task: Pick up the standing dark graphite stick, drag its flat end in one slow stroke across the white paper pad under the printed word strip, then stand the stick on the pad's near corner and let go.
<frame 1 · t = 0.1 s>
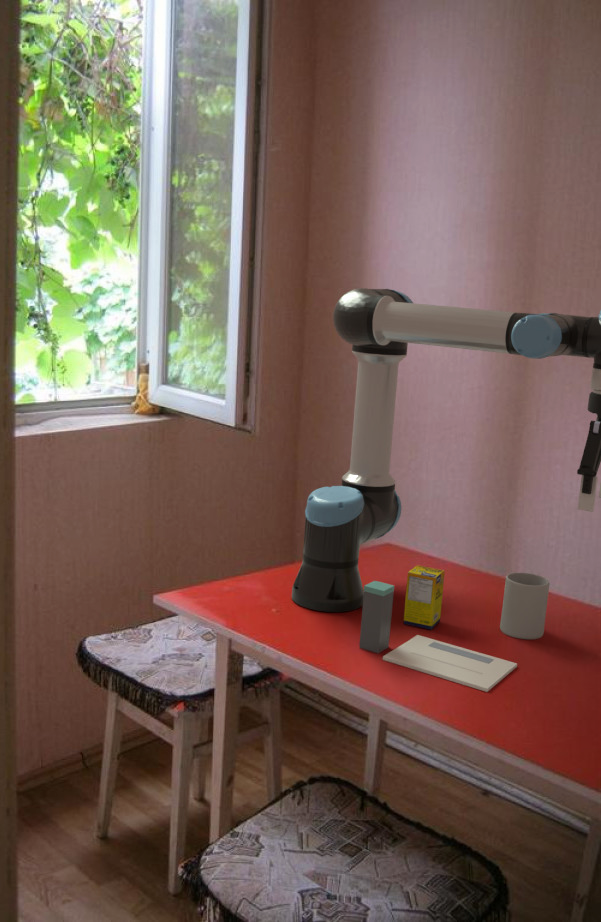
hand: (596, 504, 180), 28 cm above the table, fingers open, 13 cm apart
graphite stick: (373, 647, 177), on the table
mug: (517, 629, 192), on the table
paper pad: (449, 663, 172), on the table
supplement box: (421, 623, 191), on the table
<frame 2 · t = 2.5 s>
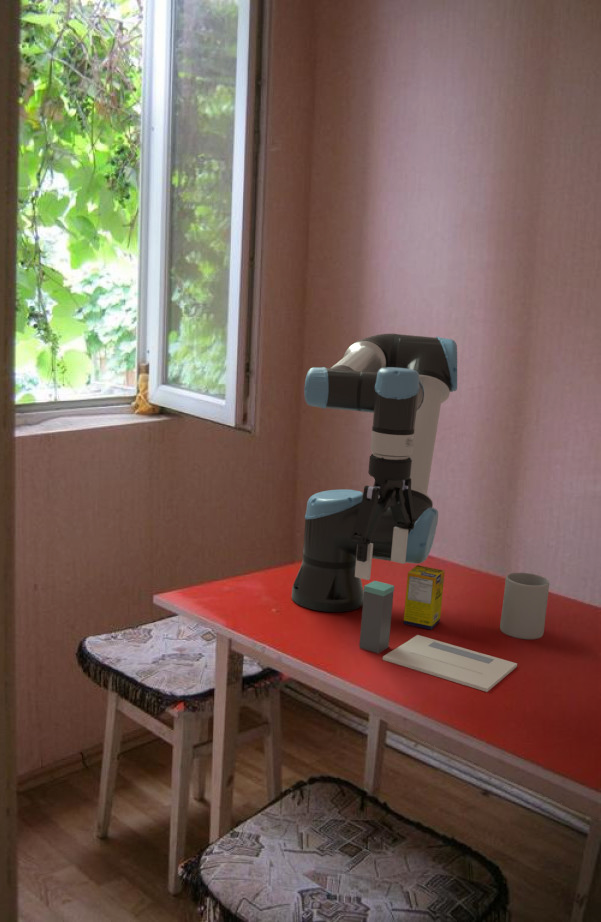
hand: (380, 570, 173), 15 cm above the table, fingers open, 13 cm apart
nothing on the table moved.
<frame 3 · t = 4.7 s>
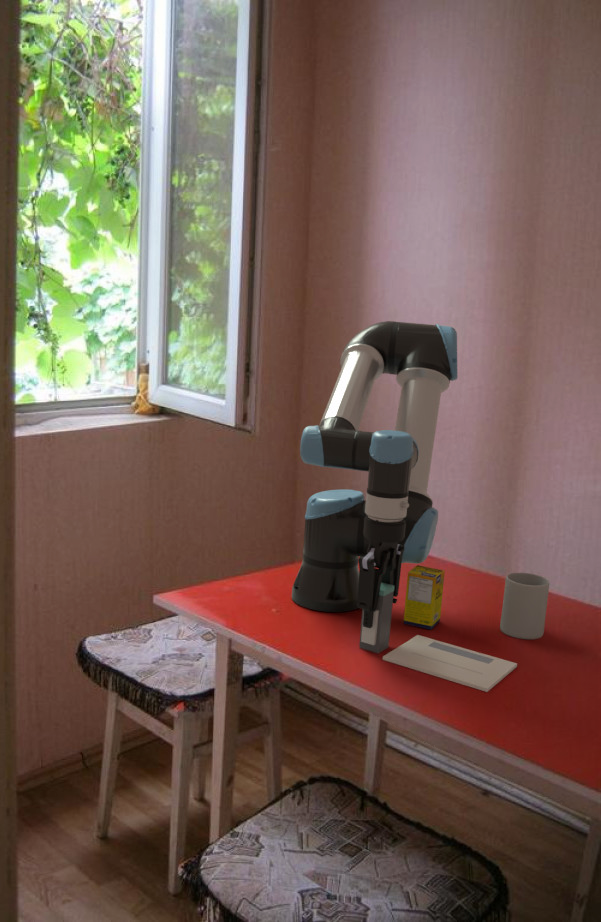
hand: (374, 638, 176), 2 cm above the table, fingers closed on graphite stick, 4 cm apart
graphite stick: (373, 647, 177), on the table, touching gripper
everything else where it was.
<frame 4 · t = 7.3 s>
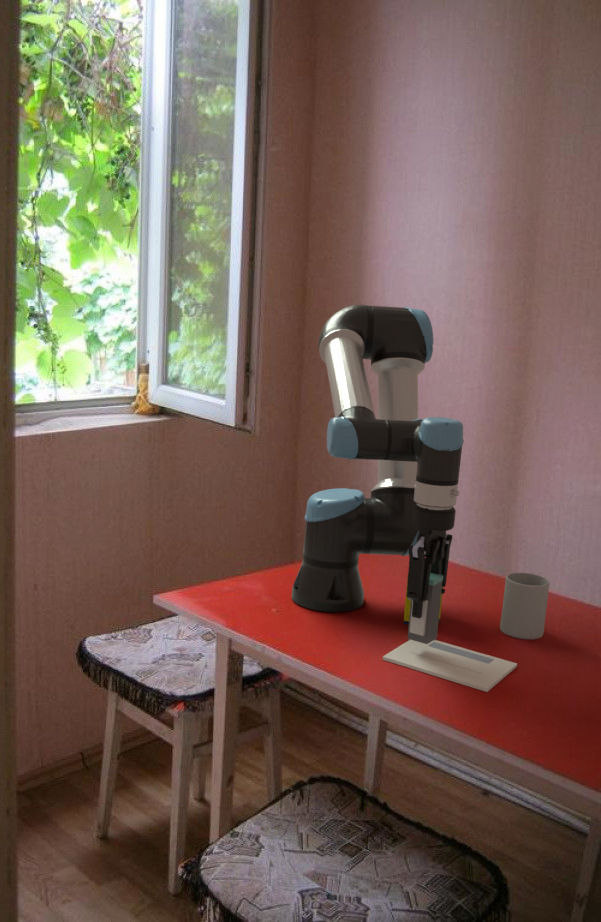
hand: (422, 629, 174), 5 cm above the table, fingers closed on graphite stick, 4 cm apart
graphite stick: (422, 638, 174), point 3 cm above the table, touching gripper
everything else where it was.
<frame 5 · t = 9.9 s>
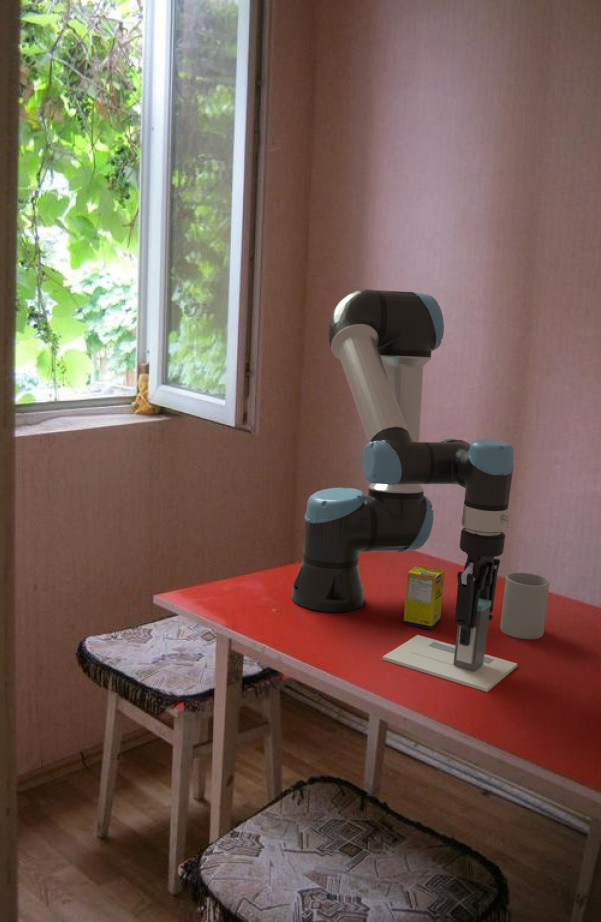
hand: (469, 656, 169), 2 cm above the table, fingers closed on graphite stick, 4 cm apart
graphite stick: (468, 664, 170), point 1 cm above the table, touching gripper
everything else where it was.
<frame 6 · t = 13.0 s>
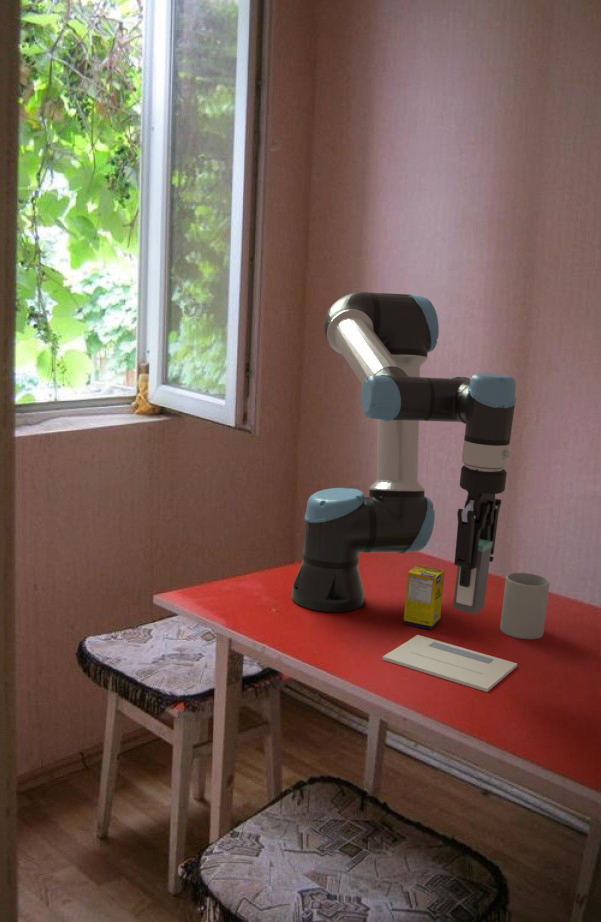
hand: (470, 599, 164), 14 cm above the table, fingers closed on graphite stick, 4 cm apart
graphite stick: (468, 608, 164), point 13 cm above the table, touching gripper
everything else where it was.
when the fingers open (3 cm above the table, at t = 15.5 s): graphite stick stays where it is, resting on paper pad.
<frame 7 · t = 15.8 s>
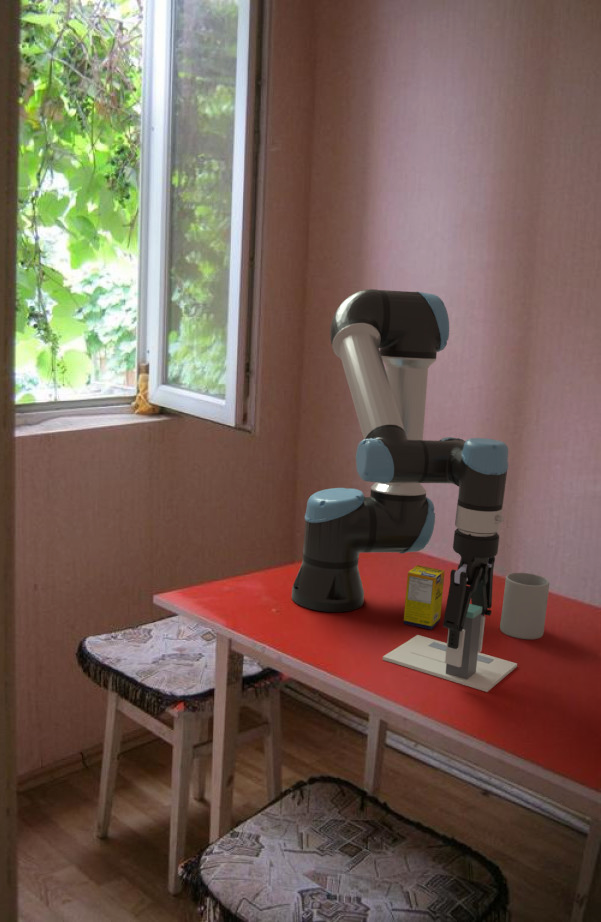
hand: (463, 656, 166), 4 cm above the table, fingers open, 8 cm apart
graphite stick: (460, 672, 166), point 1 cm above the table, touching paper pad
everything else where it was.
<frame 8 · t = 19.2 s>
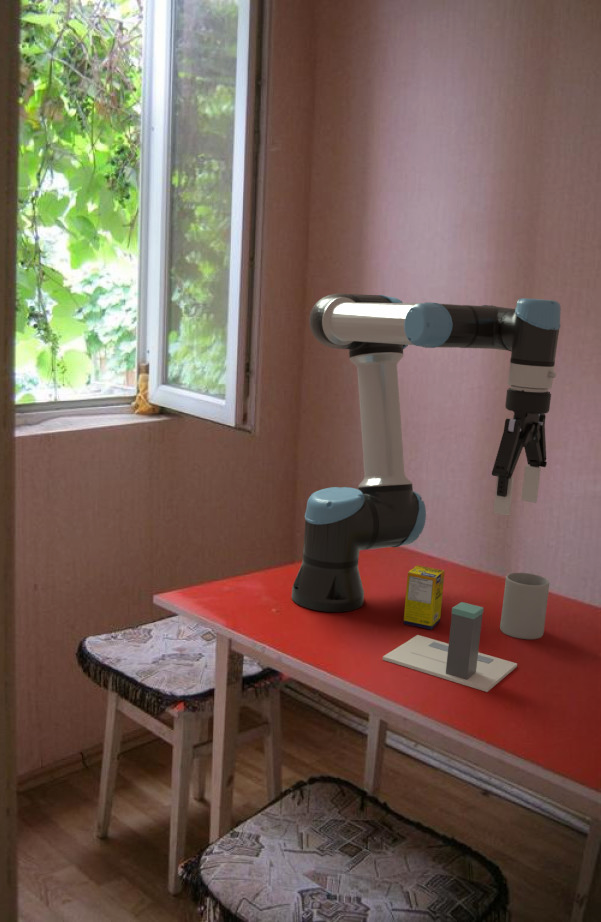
hand: (515, 507, 170), 29 cm above the table, fingers open, 13 cm apart
nothing on the table moved.
at the end: the gripper is holding nothing; graphite stick inside the target area on the paper pad (5.5 cm from its centre), point 0.6 cm above the paper pad's base; graphite stick moved 17.9 cm from its start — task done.
